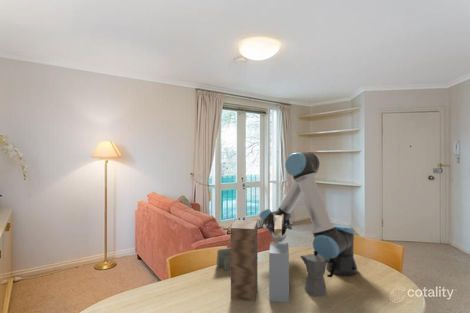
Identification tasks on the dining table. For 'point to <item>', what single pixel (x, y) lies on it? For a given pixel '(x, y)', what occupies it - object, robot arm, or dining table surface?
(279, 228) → the beech bar
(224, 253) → the digital clock
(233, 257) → the walnut plinth
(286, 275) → the white rectangular block
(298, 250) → the dining table surface
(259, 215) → the robot arm
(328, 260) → the coffeepot
